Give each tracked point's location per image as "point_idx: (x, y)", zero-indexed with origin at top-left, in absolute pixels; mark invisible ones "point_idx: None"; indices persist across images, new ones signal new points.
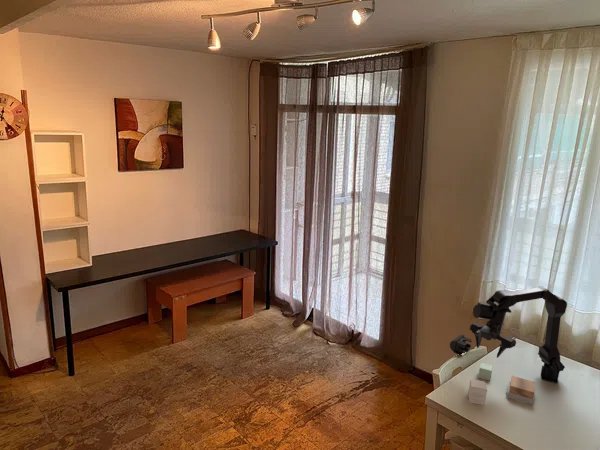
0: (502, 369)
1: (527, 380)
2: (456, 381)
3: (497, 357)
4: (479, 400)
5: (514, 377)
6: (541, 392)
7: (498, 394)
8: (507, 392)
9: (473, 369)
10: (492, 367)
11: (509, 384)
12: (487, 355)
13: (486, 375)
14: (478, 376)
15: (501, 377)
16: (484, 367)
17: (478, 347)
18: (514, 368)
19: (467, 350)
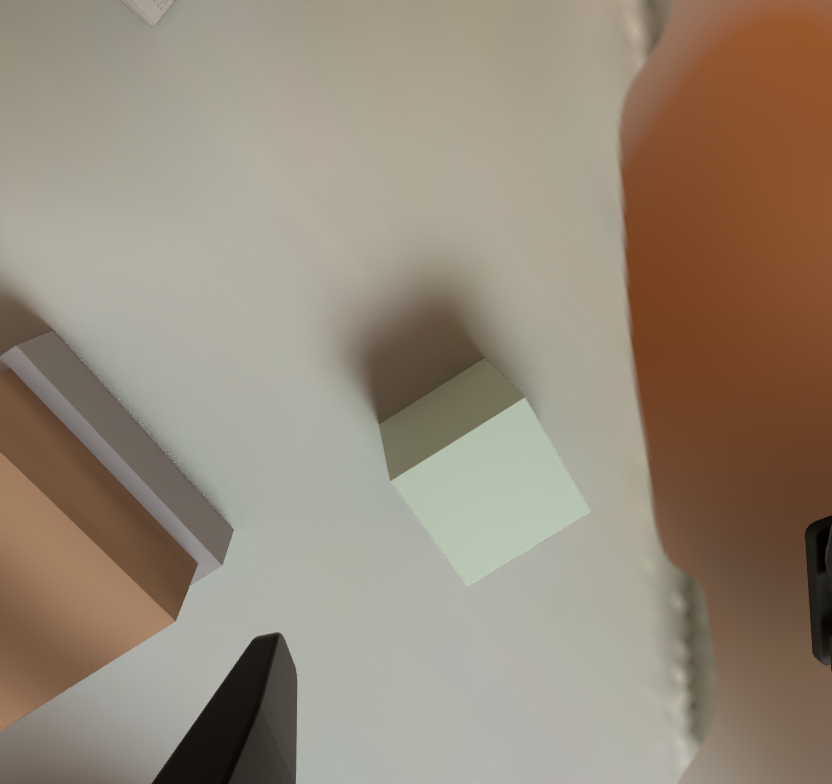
0: (462, 683)
1: (6, 710)
2: (560, 14)
3: (251, 643)
4: None
5: (123, 618)
6: (20, 718)
7: (131, 284)
8: (19, 344)
9: (607, 435)
10: (444, 554)
11: (155, 506)
12: (673, 725)
13: (424, 419)
14: (487, 362)
15: (371, 577)
16: (495, 460)
17: (829, 559)
18: (422, 779)
19: (826, 629)
